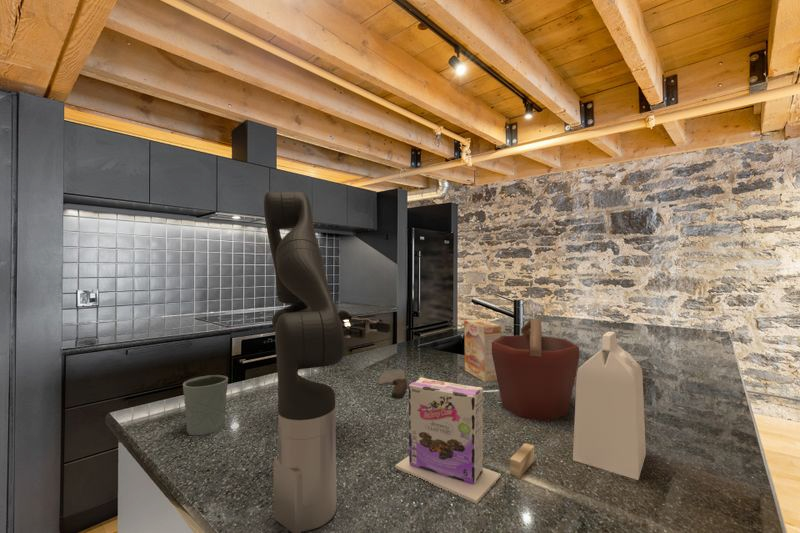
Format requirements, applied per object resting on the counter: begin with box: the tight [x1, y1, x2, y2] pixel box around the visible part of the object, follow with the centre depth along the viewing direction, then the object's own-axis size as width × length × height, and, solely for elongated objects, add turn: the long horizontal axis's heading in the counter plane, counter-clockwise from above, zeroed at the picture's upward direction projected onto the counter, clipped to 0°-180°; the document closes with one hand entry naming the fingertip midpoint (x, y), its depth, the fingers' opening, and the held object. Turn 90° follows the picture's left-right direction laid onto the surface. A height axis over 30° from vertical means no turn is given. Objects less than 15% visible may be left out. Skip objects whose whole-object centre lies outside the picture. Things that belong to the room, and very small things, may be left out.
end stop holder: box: [509, 442, 535, 479], centre depth 80 cm, size 8×20×3 cm, turn 51°
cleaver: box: [378, 369, 408, 399], centre depth 127 cm, size 29×10×2 cm, turn 3°
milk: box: [572, 330, 647, 481], centre depth 77 cm, size 12×12×26 cm
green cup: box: [182, 374, 229, 436], centre depth 94 cm, size 10×10×12 cm
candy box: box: [408, 376, 484, 484], centre depth 73 cm, size 14×6×16 cm, turn 60°
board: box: [394, 455, 502, 505], centre depth 72 cm, size 10×18×1 cm, turn 51°
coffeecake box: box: [463, 318, 502, 383], centre depth 135 cm, size 15×7×20 cm, turn 17°
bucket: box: [492, 318, 580, 422], centre depth 104 cm, size 24×22×25 cm
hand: (377, 330), depth 83 cm, fingers open, 8 cm apart
